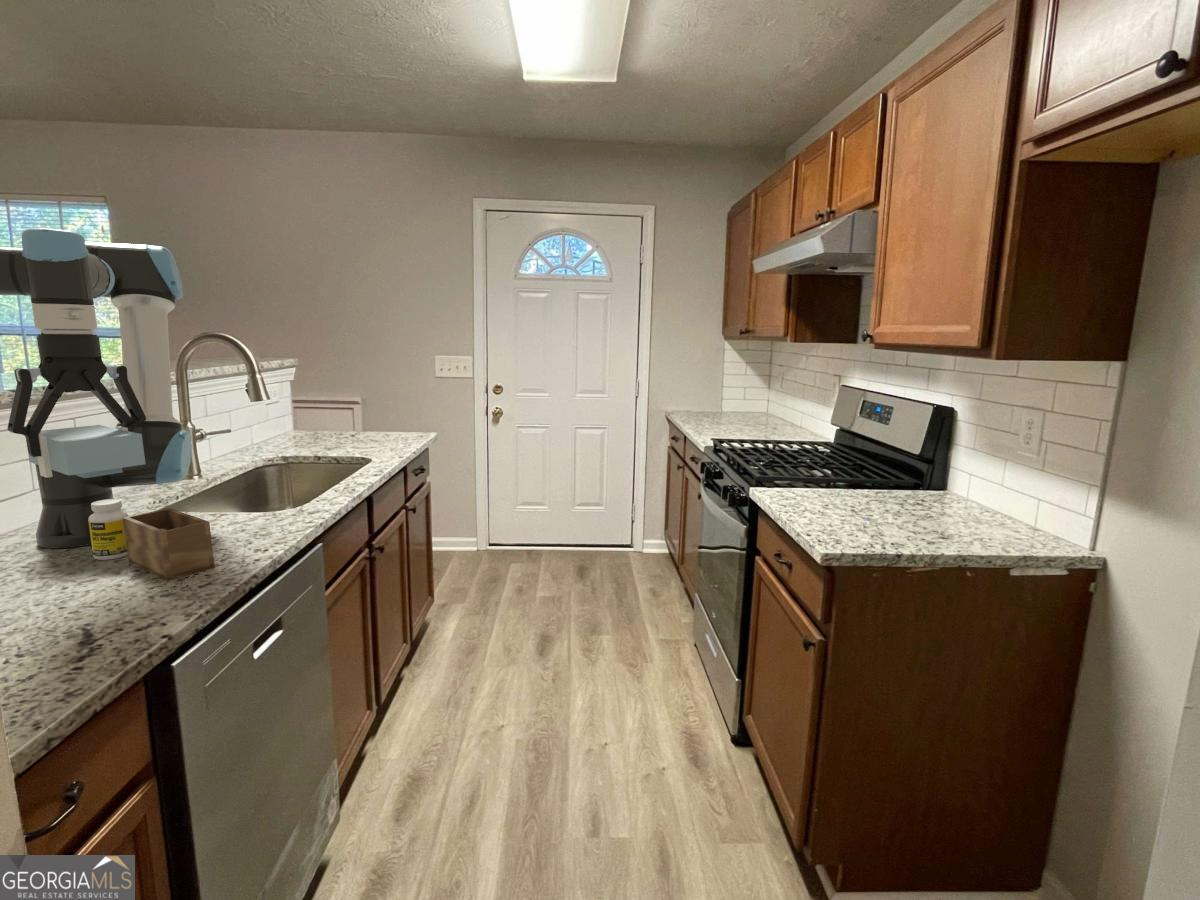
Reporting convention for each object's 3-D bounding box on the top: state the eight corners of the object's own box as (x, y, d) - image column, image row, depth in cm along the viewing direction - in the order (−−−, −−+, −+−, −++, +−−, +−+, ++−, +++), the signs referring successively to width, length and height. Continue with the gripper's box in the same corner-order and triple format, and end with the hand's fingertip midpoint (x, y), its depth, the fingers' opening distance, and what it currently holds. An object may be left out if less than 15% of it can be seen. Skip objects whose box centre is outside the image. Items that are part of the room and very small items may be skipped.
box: (128, 562, 119) (122, 517, 117) (174, 550, 126) (169, 508, 124) (167, 580, 110) (161, 532, 109) (214, 567, 117) (209, 521, 115)
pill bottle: (89, 562, 119) (81, 507, 117) (97, 552, 124) (90, 499, 122) (129, 557, 121) (122, 503, 119) (135, 548, 127) (128, 496, 125)
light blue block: (30, 469, 102) (24, 432, 101) (103, 459, 110) (99, 424, 109) (70, 483, 93) (63, 442, 92) (146, 471, 101) (141, 434, 100)
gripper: (-24, 332, 86) (3, 487, 90) (159, 333, 105) (175, 461, 109) (-40, 332, 90) (-13, 480, 94) (140, 332, 109) (156, 456, 113)
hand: (88, 470), depth 101 cm, fingers closed on light blue block, 10 cm apart
